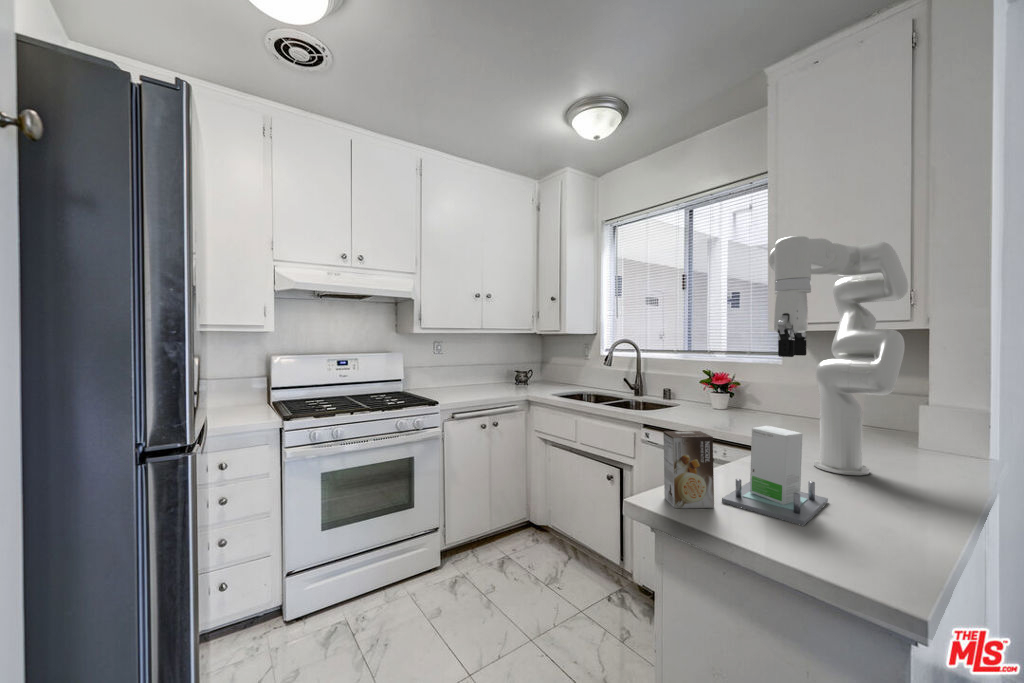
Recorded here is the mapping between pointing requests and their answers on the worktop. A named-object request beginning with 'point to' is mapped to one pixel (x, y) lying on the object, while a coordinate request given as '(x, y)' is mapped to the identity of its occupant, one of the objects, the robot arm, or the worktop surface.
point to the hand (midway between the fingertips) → (792, 356)
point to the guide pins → (796, 495)
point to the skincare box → (775, 463)
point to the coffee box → (688, 469)
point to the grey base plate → (776, 505)
